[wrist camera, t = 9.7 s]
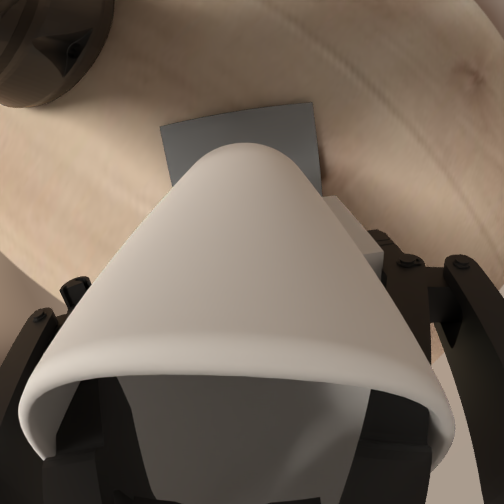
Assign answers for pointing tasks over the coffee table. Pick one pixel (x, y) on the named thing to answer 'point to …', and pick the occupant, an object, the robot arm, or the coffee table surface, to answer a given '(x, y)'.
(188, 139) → the coaster
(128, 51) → the coffee table surface
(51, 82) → the robot arm
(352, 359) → the cup
